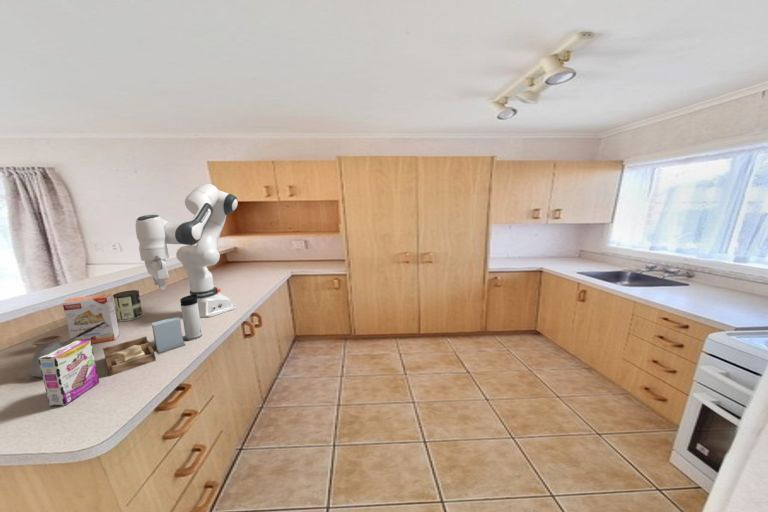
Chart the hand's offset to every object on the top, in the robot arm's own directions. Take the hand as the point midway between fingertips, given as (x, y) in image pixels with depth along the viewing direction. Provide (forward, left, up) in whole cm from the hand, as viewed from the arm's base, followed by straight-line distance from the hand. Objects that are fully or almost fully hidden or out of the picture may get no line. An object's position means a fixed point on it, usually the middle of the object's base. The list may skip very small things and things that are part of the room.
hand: (160, 286), depth 113 cm
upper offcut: (+13, +6, -24) cm, 28 cm away
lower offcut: (+13, +6, -27) cm, 31 cm away
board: (0, 0, -26) cm, 26 cm away
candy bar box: (+27, +15, -27) cm, 42 cm away
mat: (0, 0, -27) cm, 27 cm away
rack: (+13, +2, -27) cm, 30 cm away
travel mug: (-10, -1, -27) cm, 29 cm away
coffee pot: (+27, -9, -27) cm, 40 cm away
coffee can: (+6, -54, -27) cm, 61 cm away
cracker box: (+20, -30, -27) cm, 45 cm away
